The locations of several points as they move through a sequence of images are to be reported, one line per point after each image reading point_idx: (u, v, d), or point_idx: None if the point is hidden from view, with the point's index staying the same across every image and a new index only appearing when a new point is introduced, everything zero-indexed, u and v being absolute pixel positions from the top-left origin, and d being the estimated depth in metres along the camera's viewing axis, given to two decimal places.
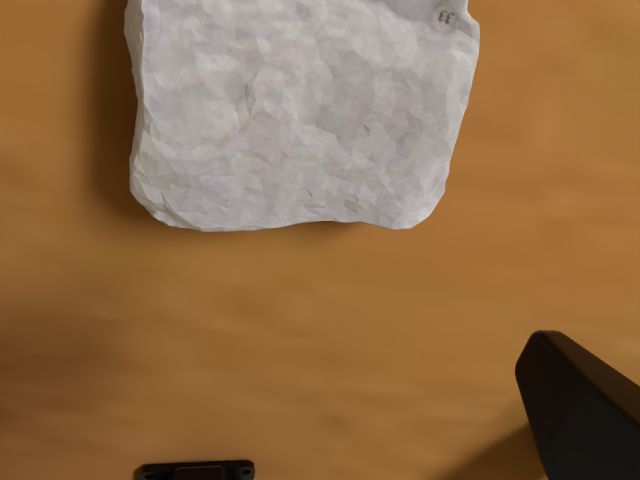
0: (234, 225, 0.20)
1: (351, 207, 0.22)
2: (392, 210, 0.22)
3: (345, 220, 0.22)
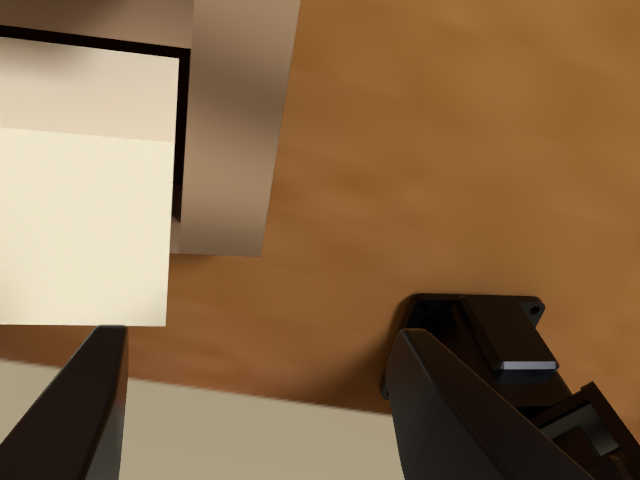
0: None
1: None
2: None
3: None
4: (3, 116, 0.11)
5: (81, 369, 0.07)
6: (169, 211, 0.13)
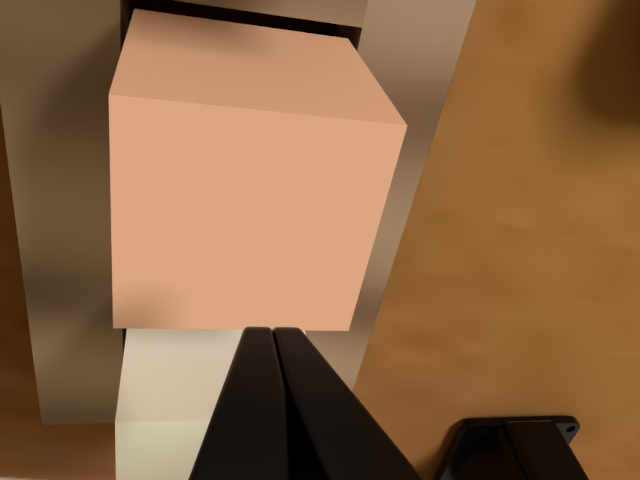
0: None
1: None
2: None
3: None
4: (194, 405, 0.14)
5: (248, 368, 0.08)
6: None
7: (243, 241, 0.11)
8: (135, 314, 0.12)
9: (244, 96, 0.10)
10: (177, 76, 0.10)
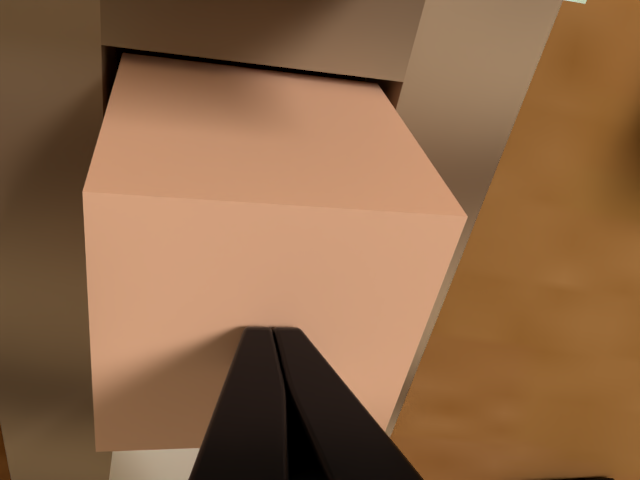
0: None
1: None
2: None
3: None
4: None
5: (248, 368, 0.08)
6: None
7: None
8: (123, 436, 0.10)
9: (260, 183, 0.08)
10: (173, 155, 0.08)
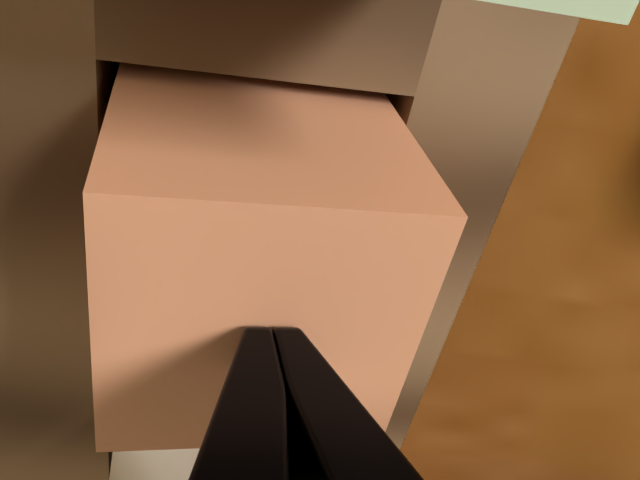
0: None
1: None
2: None
3: None
4: None
5: (248, 368, 0.08)
6: None
7: None
8: (123, 436, 0.10)
9: (260, 183, 0.08)
10: (173, 155, 0.08)
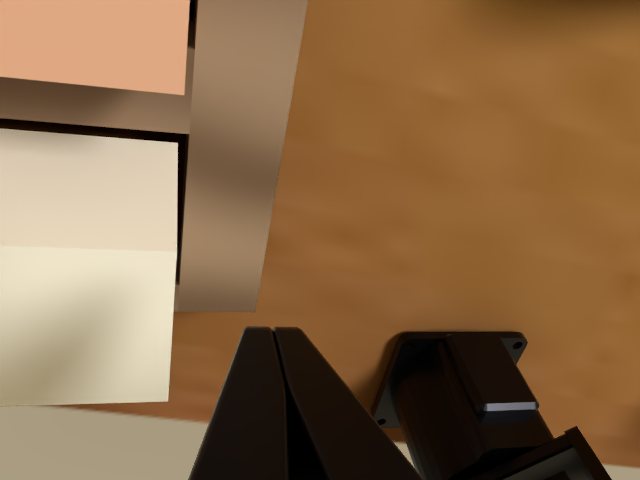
0: None
1: None
2: None
3: None
4: (18, 232, 0.12)
5: (248, 368, 0.08)
6: (172, 307, 0.14)
7: None
8: None
9: None
10: None
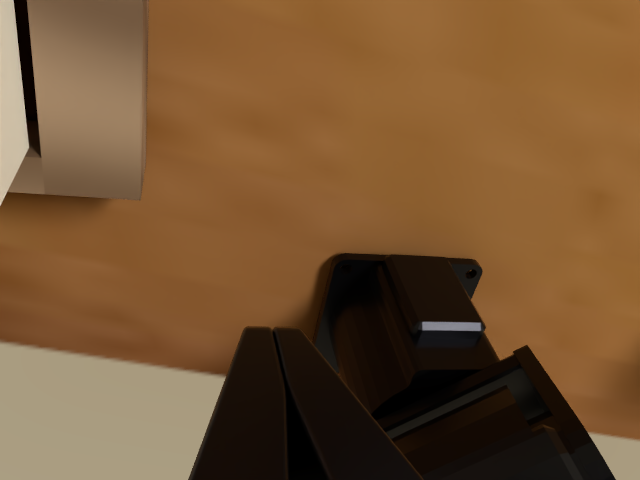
0: None
1: None
2: None
3: None
4: None
5: (248, 368, 0.08)
6: None
7: None
8: None
9: None
10: None
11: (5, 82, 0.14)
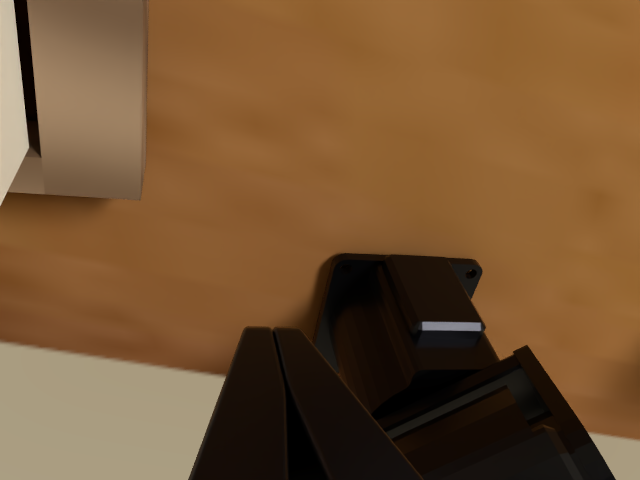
0: None
1: None
2: None
3: None
4: None
5: (248, 368, 0.08)
6: None
7: None
8: None
9: None
10: None
11: (5, 82, 0.14)
